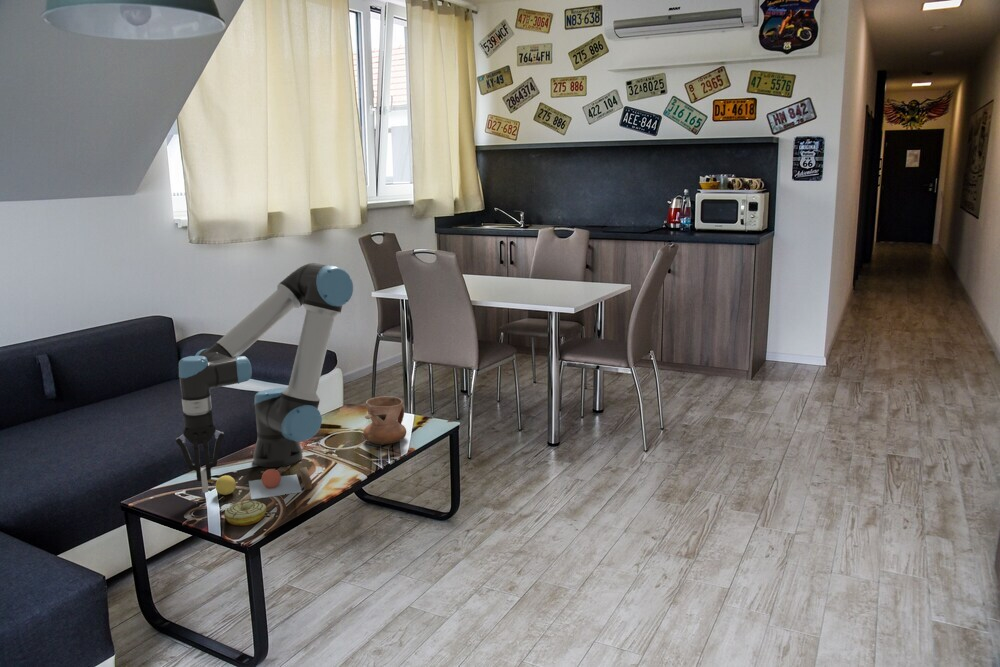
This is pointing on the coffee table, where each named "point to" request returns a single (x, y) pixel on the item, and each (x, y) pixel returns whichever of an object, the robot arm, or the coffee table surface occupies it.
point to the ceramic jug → (385, 420)
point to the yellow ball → (225, 485)
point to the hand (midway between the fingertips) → (205, 490)
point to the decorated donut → (245, 513)
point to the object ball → (271, 478)
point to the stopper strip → (305, 478)
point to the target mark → (284, 487)
